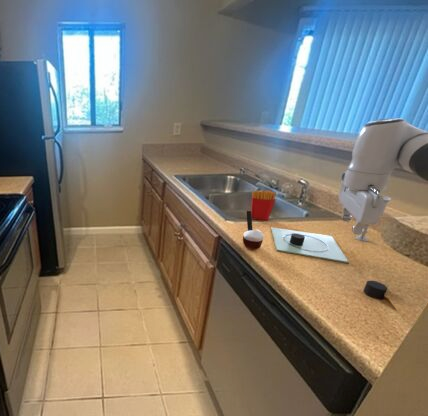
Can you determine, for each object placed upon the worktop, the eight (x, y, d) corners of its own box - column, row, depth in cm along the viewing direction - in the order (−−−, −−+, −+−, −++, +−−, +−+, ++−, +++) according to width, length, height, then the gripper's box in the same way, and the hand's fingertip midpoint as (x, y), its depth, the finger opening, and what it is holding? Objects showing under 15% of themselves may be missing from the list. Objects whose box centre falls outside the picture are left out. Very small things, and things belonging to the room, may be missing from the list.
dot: (379, 291, 75) (383, 282, 74) (386, 300, 71) (390, 291, 70) (361, 288, 76) (364, 279, 75) (366, 296, 73) (370, 287, 72)
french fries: (269, 217, 123) (275, 189, 119) (271, 221, 119) (277, 192, 115) (246, 215, 126) (251, 188, 121) (248, 218, 122) (253, 191, 117)
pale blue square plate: (331, 237, 105) (331, 235, 104) (348, 263, 88) (349, 261, 87) (270, 228, 113) (271, 226, 112) (276, 250, 96) (276, 249, 96)
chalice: (369, 250, 95) (388, 201, 89) (345, 243, 100) (360, 196, 94) (375, 244, 99) (393, 197, 93) (351, 237, 104) (366, 192, 98)
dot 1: (301, 241, 100) (303, 234, 99) (303, 246, 97) (306, 239, 96) (288, 239, 102) (290, 232, 101) (290, 244, 99) (292, 237, 98)
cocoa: (262, 254, 94) (269, 222, 89) (242, 251, 96) (248, 219, 92) (258, 241, 102) (264, 212, 98) (240, 239, 104) (245, 210, 100)
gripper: (398, 192, 65) (379, 244, 70) (366, 173, 82) (352, 216, 87) (364, 190, 67) (347, 240, 72) (340, 171, 85) (328, 213, 89)
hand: (350, 226), depth 80 cm, fingers open, 8 cm apart
